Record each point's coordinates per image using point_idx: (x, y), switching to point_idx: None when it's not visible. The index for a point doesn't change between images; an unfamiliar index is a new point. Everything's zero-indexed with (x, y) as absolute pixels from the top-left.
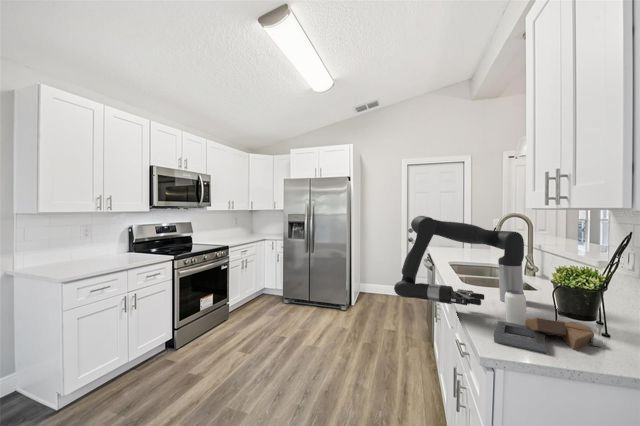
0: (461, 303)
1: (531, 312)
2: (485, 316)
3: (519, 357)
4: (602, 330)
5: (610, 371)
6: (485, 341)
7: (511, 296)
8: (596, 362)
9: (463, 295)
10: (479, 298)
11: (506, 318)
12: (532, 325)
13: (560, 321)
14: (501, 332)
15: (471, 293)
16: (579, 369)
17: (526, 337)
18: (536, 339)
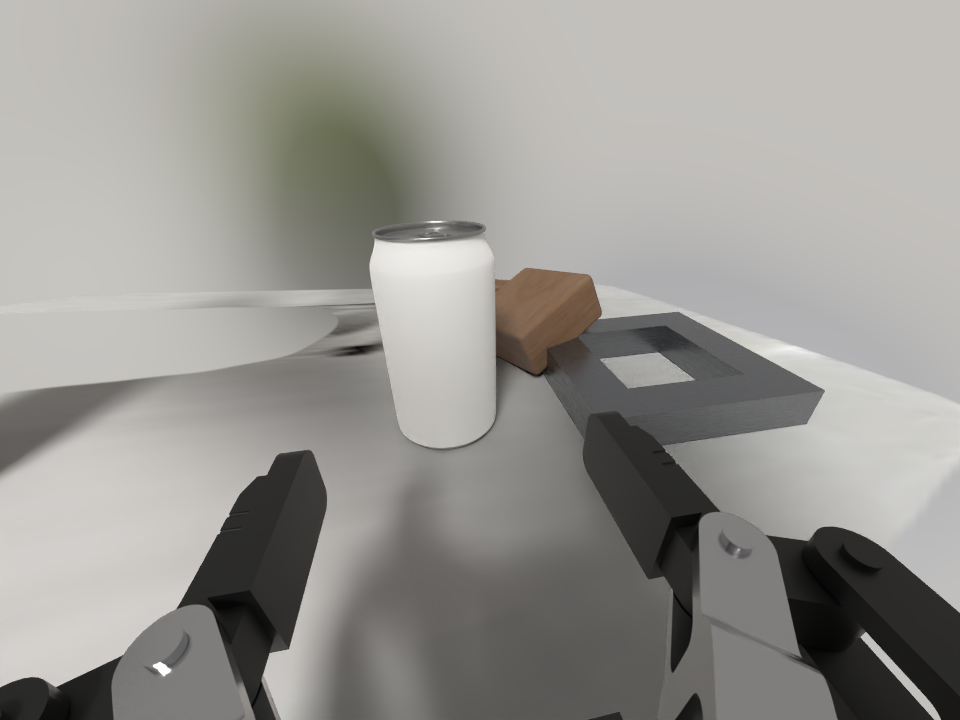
0: (917, 701)
1: (200, 410)
2: (418, 584)
3: (796, 359)
4: (360, 306)
5: (622, 293)
6: (861, 447)
7: (490, 253)
8: (601, 301)
9: (797, 666)
10: (312, 544)
11: (475, 422)
12: (574, 321)
13: (531, 268)
14: (753, 379)
15: (235, 658)
16: (677, 307)
17: (682, 335)
18: (662, 323)
